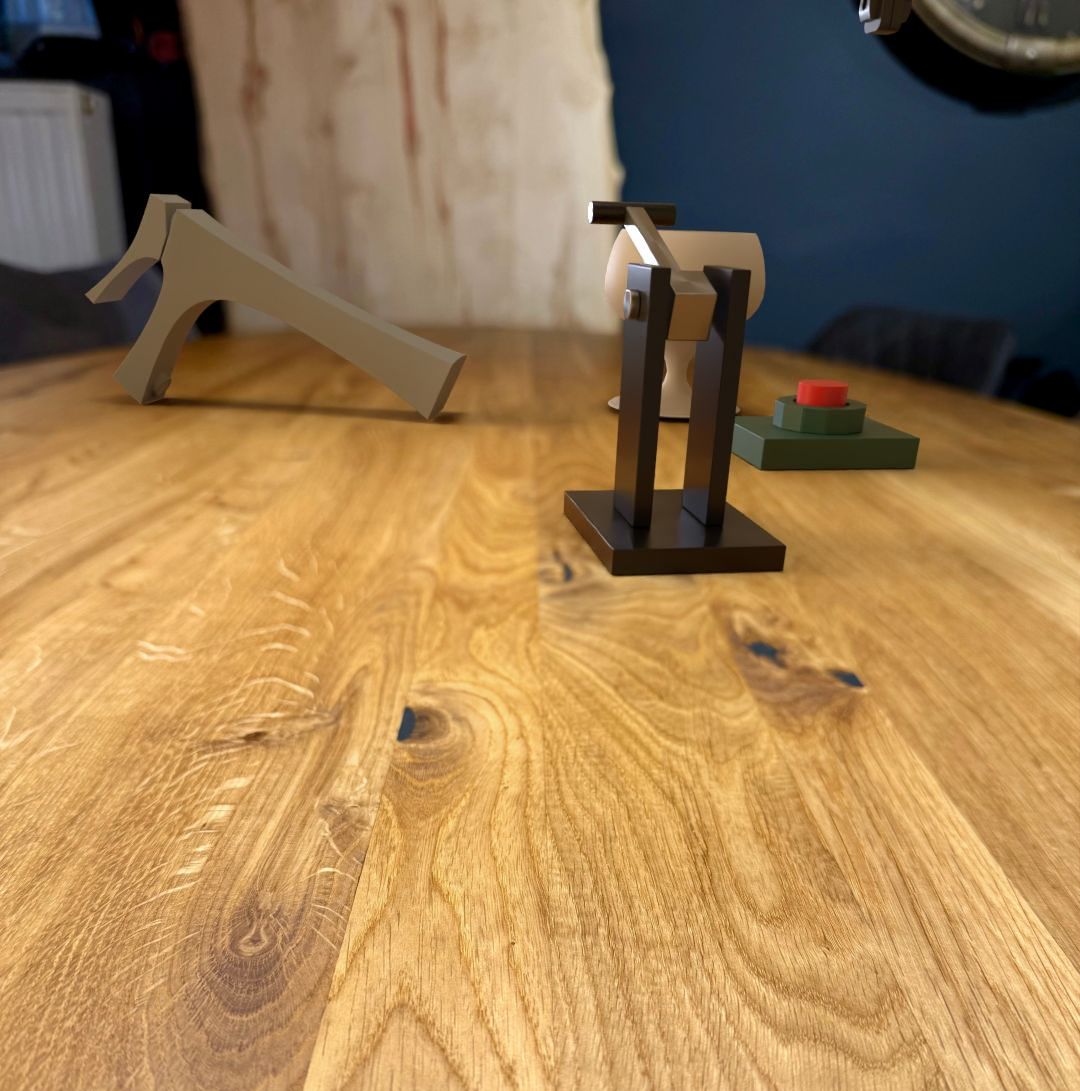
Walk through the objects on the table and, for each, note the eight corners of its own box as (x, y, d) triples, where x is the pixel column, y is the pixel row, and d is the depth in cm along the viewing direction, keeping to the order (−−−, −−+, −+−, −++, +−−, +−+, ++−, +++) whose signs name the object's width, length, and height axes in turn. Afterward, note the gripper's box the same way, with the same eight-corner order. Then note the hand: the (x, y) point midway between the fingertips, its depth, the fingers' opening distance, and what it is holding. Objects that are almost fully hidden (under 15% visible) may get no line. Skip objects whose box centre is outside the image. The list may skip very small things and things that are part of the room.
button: (832, 403, 79) (836, 379, 78) (853, 411, 76) (857, 386, 75) (788, 403, 78) (791, 379, 77) (807, 411, 75) (811, 386, 74)
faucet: (393, 517, 96) (98, 357, 94) (469, 352, 89) (151, 172, 86) (374, 536, 91) (61, 365, 88) (454, 361, 83) (114, 169, 81)
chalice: (571, 401, 98) (579, 226, 92) (696, 396, 104) (711, 231, 97) (645, 427, 87) (660, 230, 80) (781, 420, 92) (805, 235, 86)
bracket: (563, 512, 61) (573, 258, 55) (707, 509, 63) (733, 262, 57) (611, 575, 51) (631, 270, 45) (783, 570, 52) (824, 275, 46)
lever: (585, 229, 61) (591, 186, 59) (667, 232, 61) (674, 189, 60) (639, 340, 51) (647, 292, 49) (734, 341, 52) (746, 294, 50)
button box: (859, 443, 84) (868, 392, 82) (915, 468, 76) (925, 412, 74) (718, 444, 81) (724, 392, 80) (760, 470, 74) (767, 412, 72)
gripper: (857, -383, 54) (808, 16, 61) (1083, -350, 56) (1009, 30, 64) (799, -318, 60) (762, 34, 68) (1003, -291, 63) (945, 47, 70)
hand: (882, 32), depth 66 cm, fingers closed
